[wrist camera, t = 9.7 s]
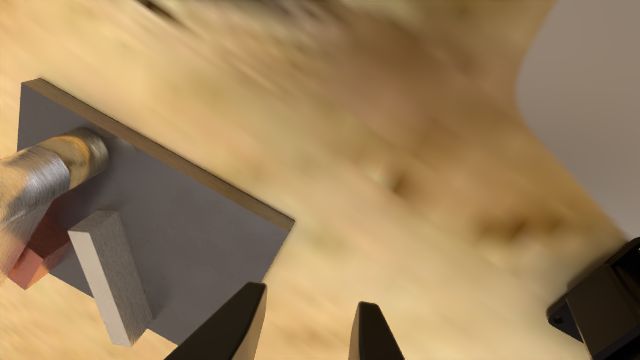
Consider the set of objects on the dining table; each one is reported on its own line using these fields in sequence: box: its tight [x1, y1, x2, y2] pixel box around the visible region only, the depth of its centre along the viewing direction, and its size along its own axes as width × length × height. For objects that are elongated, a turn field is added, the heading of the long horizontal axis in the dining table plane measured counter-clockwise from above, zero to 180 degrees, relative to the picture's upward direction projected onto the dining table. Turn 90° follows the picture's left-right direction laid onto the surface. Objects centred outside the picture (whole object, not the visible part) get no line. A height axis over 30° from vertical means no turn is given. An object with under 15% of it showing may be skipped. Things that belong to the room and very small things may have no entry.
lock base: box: [8, 78, 295, 347], centre depth 25 cm, size 17×14×4 cm
